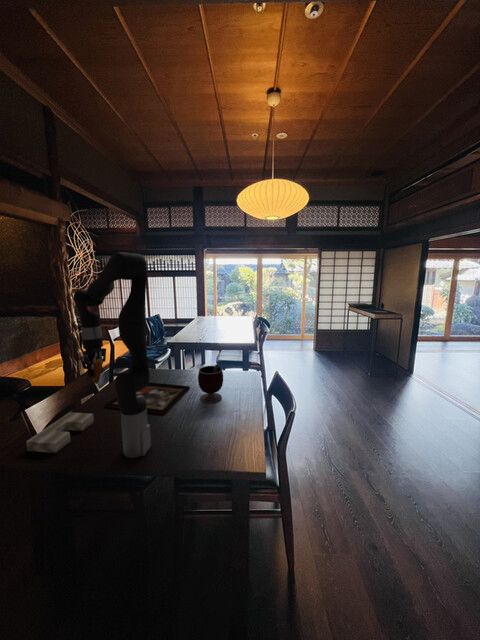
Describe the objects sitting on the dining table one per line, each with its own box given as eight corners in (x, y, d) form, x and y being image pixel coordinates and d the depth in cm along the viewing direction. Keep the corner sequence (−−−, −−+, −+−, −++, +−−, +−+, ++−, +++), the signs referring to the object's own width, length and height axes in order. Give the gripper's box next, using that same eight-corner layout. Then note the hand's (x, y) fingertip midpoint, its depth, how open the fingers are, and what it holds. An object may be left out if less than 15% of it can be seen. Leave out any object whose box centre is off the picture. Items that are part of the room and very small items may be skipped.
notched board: (94, 421, 120) (93, 413, 119) (55, 453, 98) (54, 443, 97) (70, 420, 121) (69, 412, 120) (27, 450, 99) (26, 441, 99)
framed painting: (191, 386, 160) (191, 382, 160) (171, 416, 126) (171, 411, 125) (134, 384, 164) (134, 380, 163) (99, 413, 129) (98, 408, 129)
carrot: (88, 383, 112) (85, 350, 109) (101, 380, 115) (98, 348, 113) (92, 387, 108) (88, 353, 106) (104, 383, 112) (101, 350, 109)
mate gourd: (211, 407, 134) (210, 370, 130) (193, 399, 142) (192, 365, 139) (230, 396, 146) (230, 363, 143) (212, 390, 154) (212, 358, 151)
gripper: (88, 341, 101) (92, 381, 104) (110, 333, 115) (113, 369, 118) (71, 340, 102) (75, 381, 104) (95, 333, 116) (98, 368, 118)
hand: (95, 374), depth 111 cm, fingers closed on carrot, 5 cm apart
